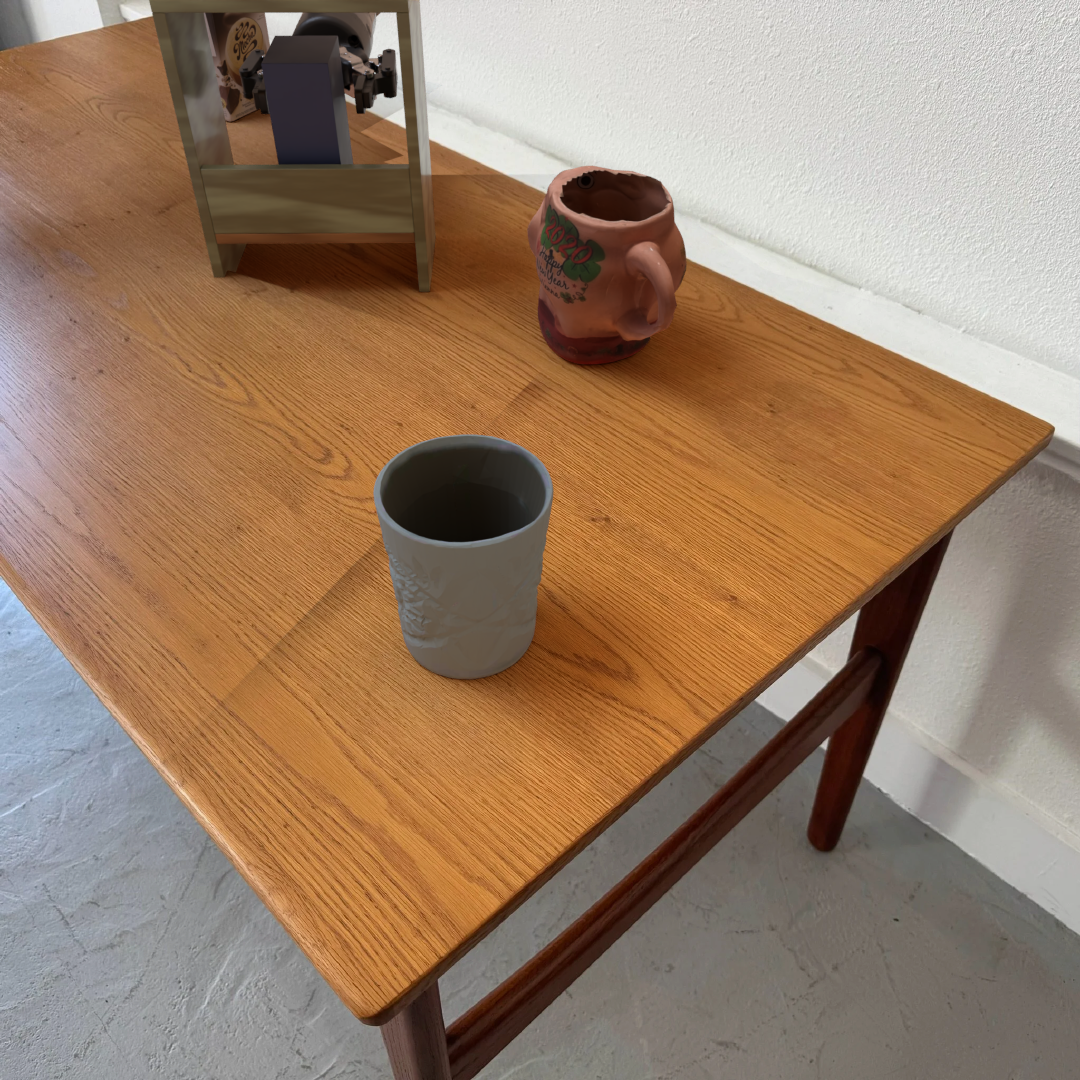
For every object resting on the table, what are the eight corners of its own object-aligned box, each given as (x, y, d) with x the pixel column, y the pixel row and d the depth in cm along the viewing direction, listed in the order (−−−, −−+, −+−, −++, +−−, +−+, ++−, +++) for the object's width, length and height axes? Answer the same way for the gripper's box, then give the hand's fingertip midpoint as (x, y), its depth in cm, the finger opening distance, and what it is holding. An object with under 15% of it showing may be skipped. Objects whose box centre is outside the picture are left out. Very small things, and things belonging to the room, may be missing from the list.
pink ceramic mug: (730, 383, 87) (755, 229, 77) (608, 426, 82) (619, 268, 73) (602, 279, 99) (610, 135, 90) (490, 311, 95) (486, 164, 85)
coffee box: (232, 123, 127) (204, -22, 115) (193, 113, 129) (162, -30, 118) (281, 99, 132) (258, -41, 121) (243, 89, 135) (217, -49, 124)
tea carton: (288, 222, 95) (261, 63, 85) (299, 189, 100) (274, 35, 90) (348, 222, 95) (327, 63, 85) (356, 188, 100) (337, 35, 90)
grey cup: (361, 645, 65) (337, 503, 57) (452, 551, 72) (442, 411, 64) (494, 713, 62) (488, 572, 53) (578, 608, 68) (585, 467, 60)
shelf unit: (239, 238, 105) (181, -41, 87) (435, 237, 105) (416, -41, 88) (217, 293, 97) (148, -1, 80) (429, 291, 97) (407, -1, 80)
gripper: (407, 80, 106) (394, 144, 94) (268, 80, 106) (238, 145, 94) (401, 1, 101) (386, 59, 89) (255, 1, 101) (221, 59, 89)
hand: (310, 103), depth 92 cm, fingers open, 8 cm apart
